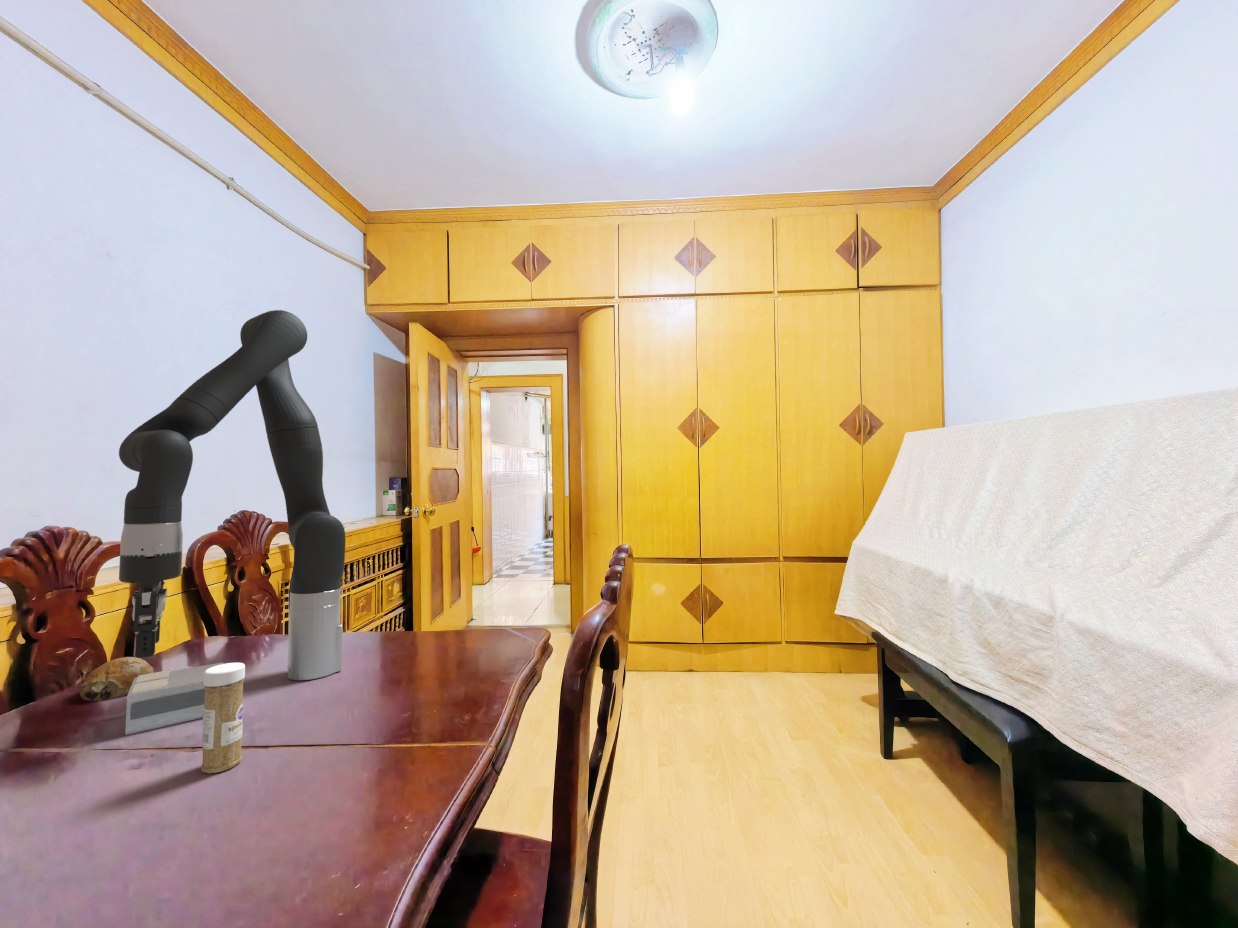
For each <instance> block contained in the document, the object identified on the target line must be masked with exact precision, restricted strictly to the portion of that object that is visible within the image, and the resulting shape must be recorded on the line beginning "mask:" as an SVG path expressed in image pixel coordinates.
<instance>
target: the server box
mask: <svg viewBox="0 0 1238 928" xmlns="http://www.w3.org/2000/svg"><path fill="white" fill-rule="evenodd" d="M221 664H225V663H224V662H222V661H221V662H217V663H212V664H211V663H210V664H205V665H200V666H195V667H194V666H193V667H190V668H183V669H182V668H181V669H177V670H170V669H169V670H163V671H157V672H154V673H150V674H144V675H139V676H138V677H136V678H135V679H134V681H133V683H132V686H131V688H130V690H129V693H128V695H126V715H125V736H129V735H132V734H133V735H134V734H137V733H142V732H146V731H152V730H154V729H160V728H165V727H168V726H172V725H178V724H181V723H186V722H190V721H194V720H195V721H196V720H199V719H203V710H204V704H205V703H204V700H205V687H204V684H203V681H204V672H205V671H206V670H207V669H209V668H211V667H214V666H217V665H221Z"/></svg>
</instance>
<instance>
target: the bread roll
mask: <svg viewBox="0 0 1238 928" xmlns="http://www.w3.org/2000/svg"><path fill="white" fill-rule="evenodd" d="M150 673H155V672H154V667H152V666H151V664H149V662H148V661H146V660H144V659H143V658H136V656H135V657H133V656H124V657H118V658H115V659H111V660H109V661H107V662H105V663H103V664H101V665H100V666H98V667H97V668H95V669H94V670H92V671H91V672H90V673H89V674H87V676H86V677H85V678H84V680H82V684H81V685H80V687H79V688H80V689H79V696H80V698H81V699H82V700H84V701H89V702H98V701H100V702H101V701H106V700H111V699H112V698H113V699H117V697H118V698H121V696H122V697H125V696H126V697H127V695H128V693H129V690H130V688H131V686H132V683H133V681H134V679H135V678H136V677H138V676H139V675H144V674H150ZM113 699H112V700H113Z"/></svg>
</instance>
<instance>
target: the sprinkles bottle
mask: <svg viewBox="0 0 1238 928" xmlns="http://www.w3.org/2000/svg"><path fill="white" fill-rule="evenodd" d="M245 677H246V665H245V663H243V662H227V663H224V664H221V665H217V666H214V667H211V668H209V669H207V670H206V671H205V672H204V681H203V684H204V687H205V700H204V703H205V704H204V710H203V718H202V738H201V740H202V744H201V745H202V764H201V765H200V771H201V772H203V773H205V774H216V773H221V772H226V771H228V770H229V769H232V768H234V767H235V766H237V765H238V764H239V763H240V762H241V761H242V759H243V754H242V738H243V721H244V719H243V718H244V712H243V711H244V701H243V699H244V698H243V696H244V695H243V694H244V681H245Z"/></svg>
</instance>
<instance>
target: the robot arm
mask: <svg viewBox="0 0 1238 928" xmlns="http://www.w3.org/2000/svg"><path fill="white" fill-rule="evenodd" d="M239 335H240V343H241V346H240V347H239V348H238V349H237V350H236V351H235V352H234V353H232V354H231V355H230V356H228V358H226V359H225V360H223V361H221V362H220V363H218V364H217V365H216V366H215V367H213V368H212V369H210V370H209V371H207V373H205V374H203V375H202V376H201V377H199V378H198V379H196V380H195V382H193V383H192V384H190V386H188V388H186V389H185V390H184V391H183V392H182V393H181V394H180V395H179V396H178V397H176V398H175V399H174V400H173V401H172V403H171V404H169V406H168V407H166V408H165V409H164V410H162V411H160V412H159V413H157V414H155V415H154V416H152V417H150V419H148V420H146V421H145V422H144V423H142V424H140V425H139V426H138V427H136V428H134V430H133V431H132V432H130V433H129V434H127V436H126V437H125V438H124V440H123V441H122V442H121V444H120V446H119V449H118V456H119V460H120V462H121V463H122V465H124V466H125V467H126V468H127V469H129V470H131V471H134V472H137V473H138V478H137V481H136V486H135V487H133V488H132V489H130V490H128V492H127V493H126V496H125V499H124V508H123V526H122V527H123V528H122V532H121V537H120V545H119V546H120V548H119V567H118V568H119V569H118V571H119V572H118V580H119V581H120V582H122V583H125V584H126V583H127V584H130V583H131V584H133V583H135V584H136V583H137V584H138V586H139V589H138V590H136V591H134V593H132V597H131V598H132V599H131V601H132V606H133V607H132V614H131V616H132V621H133V626H132V631H133V633H134V634H135V653H134V654H135V655H134V656H135V658H140V659H143V658H149V657H153V656H154V655H155V653H156V644H157V643H159V642H160V639H161V638H160V634H161V633H160V632H161V620H162V618H163V617H164V616H163V612H164V611H165V608H166V599H167V597H168V589H167V588H164V585H165V581H167V580H168V581H169V580H173V579H177V578H179V577H181V575H182V564H183V562H182V561H183V560H182V559H183V542H184V541H183V538H184V537H183V528H182V527H183V526H182V519H183V518H182V517H183V515H182V514H183V513H182V512H183V511H182V510H183V496H184V492H185V489H186V487H187V484H188V481H189V477H190V474H191V470H192V467H193V461H194V452H193V448H192V445H191V443H190V442H191V441H193V440H195V439H196V438H198V437H202V436H204V435H206V434H208V433H210V432H211V431H212V430H213V429H214V428H216V427H217V425H218V424H219V423H220V422H221V421H222V420H223V419H224V418H225V417H226V416H227V415H228V414H229V413H230V412H231V411H232V410H233V409H234V408H235V407H236V405H238V404H239V403H240V402H241V400H243V398H245V397H246V396H247V394H248V393H250V391H251V390H252V389H253V388H256V391H257V396H258V401H259V406H260V409H261V413H262V417H263V422H264V427H265V434H266V437H267V442H268V446H269V450H270V453H271V459H272V460H273V465H274V468H275V471H276V475H277V477H278V480H279V483H280V486H281V489H282V491H283V495H284V500H285V507H286V509H285V510H286V517H287V529H288V532H287V533H288V538H289V542H290V545H291V546H292V548H293V550H294V551H293V569H292V570H293V571H292V574H291V578H290V581H289V583H290V584H289V586H290V587H289V611H288V613H289V614H288V615H289V616H288V620H289V621H288V644H287V645H288V647H287V650H288V653H287V678H288V679H290V680H293V681H308V680H315V679H321V678H323V677H327V676H330V675H332V674H334V673H337V672H341V671H342V664H343V663H342V661H343V660H342V659H343V657H342V656H343V655H342V654H343V653H342V652H343V651H342V650H343V624H342V623H341V602H342V601H341V599H342V598H341V596H342V578H343V576H344V571H345V560H346V559H345V558H346V531H345V527H344V525H343V523H342V521H340V519H338V518H337V517H335V516H333V515H331V512H330V510H329V506H328V503H327V500H326V496H325V493H324V492H325V491H324V487H323V485H324V484H323V475H324V472H323V471H324V452H323V451H324V449H323V444H322V439H321V435H320V430H319V426H318V421H317V419H316V417H315V415H314V413H313V412H312V410H311V409H310V407H309V406H308V404H307V402H306V401H305V400H304V399H303V397H302V395H301V394H300V393H299V392H298V390H297V387H296V386H295V383H294V380H293V377H292V373H291V368H290V361H289V359H290V358H292V357H293V356H295V355H297V354H298V353H299V352H301V351H302V350H303V349H304V348H305V347H306V344H307V340H308V330H307V329H306V326H305V324H304V322H303V321H302V320H301V319H300V318H299V317H298V316H297V315H295V314H294V313H292V312H290V311H287V310H282V309H280V310H279V309H275V310H269V311H268V310H267V311H266V312H262V313H261V314H258V315H256V316H254V317H251V318H249V319H247V320H246V321H245V322H244V323H243V325H242V326H241V329H240V334H239Z"/></svg>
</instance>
